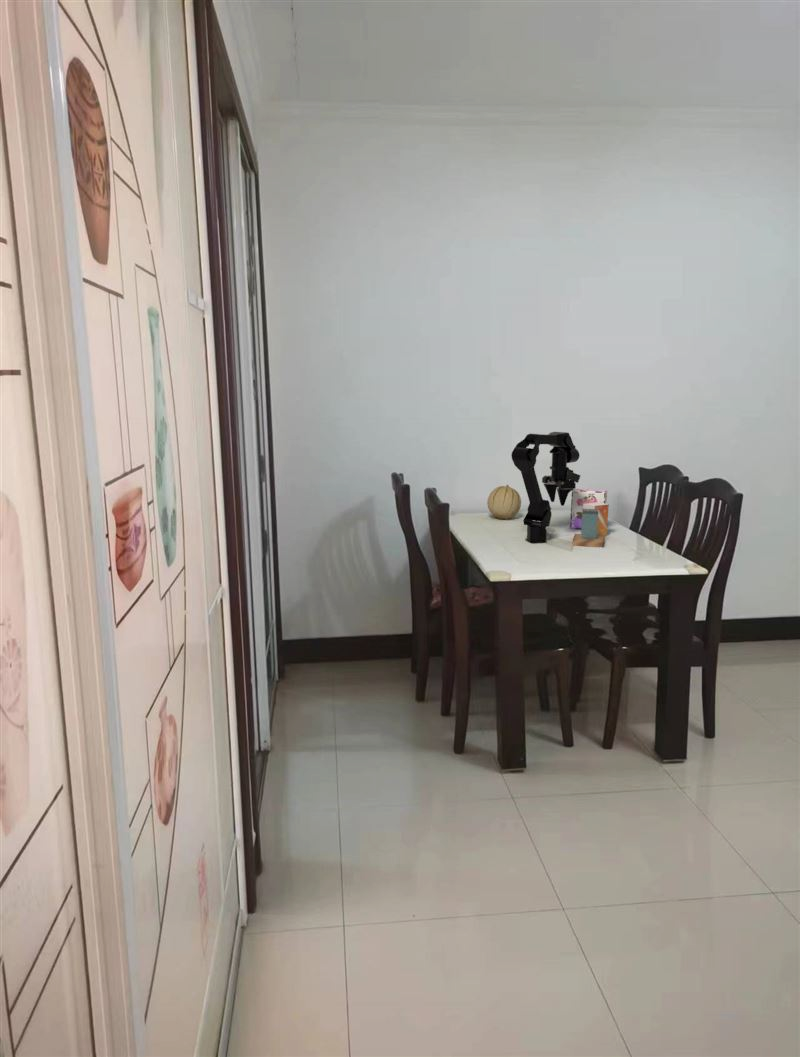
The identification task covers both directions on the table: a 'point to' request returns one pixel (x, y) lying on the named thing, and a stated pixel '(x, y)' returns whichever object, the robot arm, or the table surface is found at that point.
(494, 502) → the cantaloupe
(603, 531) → the small box
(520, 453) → the robot arm
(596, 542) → the walnut block
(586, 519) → the tea tin
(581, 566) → the table surface
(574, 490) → the candy box
